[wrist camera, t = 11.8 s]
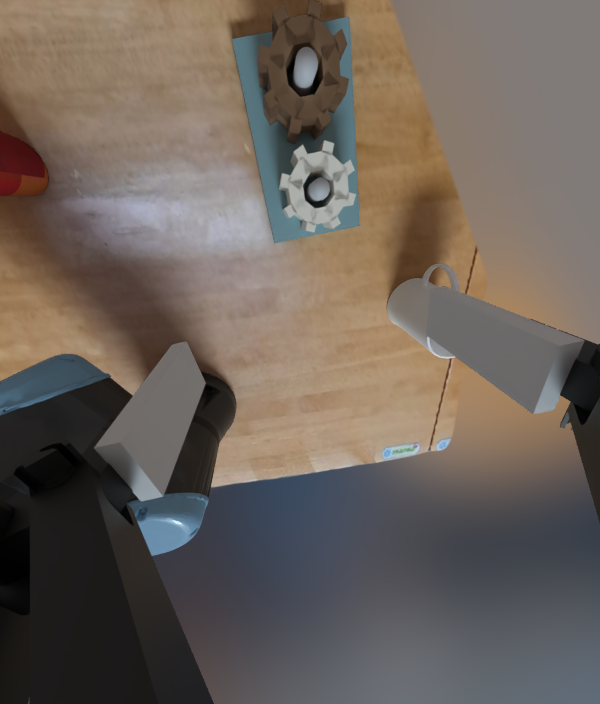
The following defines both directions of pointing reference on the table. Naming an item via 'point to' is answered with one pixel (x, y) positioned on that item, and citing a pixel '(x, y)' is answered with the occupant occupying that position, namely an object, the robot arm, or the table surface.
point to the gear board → (279, 151)
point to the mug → (418, 307)
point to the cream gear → (319, 167)
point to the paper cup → (20, 168)
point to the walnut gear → (280, 63)
